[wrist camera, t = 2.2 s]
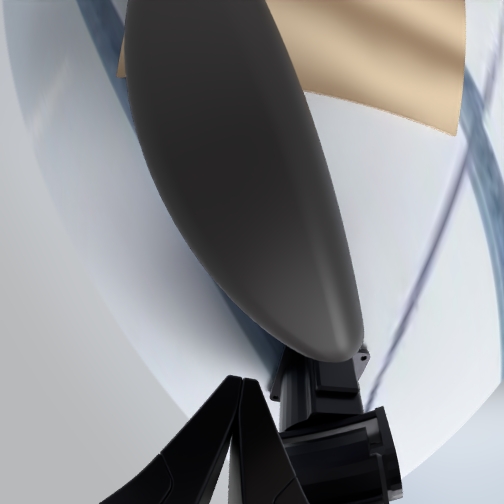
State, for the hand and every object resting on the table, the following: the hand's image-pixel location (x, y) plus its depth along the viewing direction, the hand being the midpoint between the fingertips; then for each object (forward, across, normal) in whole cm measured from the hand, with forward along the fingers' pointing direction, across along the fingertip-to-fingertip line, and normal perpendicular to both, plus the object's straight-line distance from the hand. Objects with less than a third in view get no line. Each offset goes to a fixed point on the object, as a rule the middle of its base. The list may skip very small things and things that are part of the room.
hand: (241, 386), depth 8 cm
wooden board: (+11, 0, -15) cm, 19 cm away
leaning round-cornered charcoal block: (+11, 0, -7) cm, 13 cm away
